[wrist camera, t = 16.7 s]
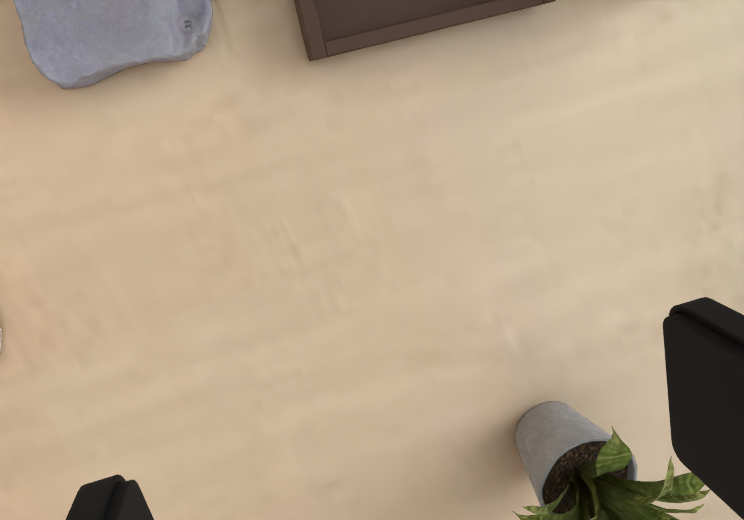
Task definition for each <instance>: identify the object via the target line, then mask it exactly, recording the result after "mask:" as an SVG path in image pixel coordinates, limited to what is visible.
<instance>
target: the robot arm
mask: <svg viewBox="0 0 744 520" xmlns="http://www.w3.org/2000/svg"><path fill="white" fill-rule="evenodd" d="M663 334H664V347H665V360H666V373H667V387H668V400H669V413H670V426H671V439H672V446H673V449H674V451H675V453H676V455H677V457H678V458H679V460H680V461H681V462H682V463H683V464H684V465H685V466H686V467H687V468H688V469H689V470H690V471H691V472H692V473H693V474H694V475H696V476H697V477H698V478H699V479H700V480H701V481H702V482H703V483H704V484H705V485H706V486H707V487H709V488H710V489H711V490H712V491H713V492H714V493H715V494H716V495H717V496H718V497H719V498H720V499H722V500H723V501H724V502H725V503H726V504H727V505H728V506H729V507H730V508H731V509H732V510H733V511H735V512H736V513H737V514H738V515H739V516H740V517H741V518H742V519H743V520H744V315H742V314H740V313H738V312H736V311H734V310H732V309H730V308H728V307H726V306H724V305H722V304H720V303H718V302H716V301H714V300H712V299H710V298H707V297H704V298H699V299H696V300H693V301H689V302H686V303H683V304H680V305H676V306H674V307H673V308H671V310H670V313H669V316H668V317H666V318H665V319H664V322H663ZM1 338H2V331H1V326H0V352H1ZM66 520H154V519H153V517H152V514H151V512H150V510H149V508H148V505H147V503H146V501H145V499H144V496H143V494H142V492H141V490H140V487H139V485H138V484H137V482H136V481H135V480H129V481H125V479H124V478H123V477H122V476H121V475H115V476H111V477H108V478H105V479H101V480H98V481H95V482H92V483H88V484H85V485H83V486H81V487H80V489H79V491H78V493H77V495H76V497H75V500H74V502H73V504H72V506H71V509H70V511H69V513H68V515H67V518H66Z"/></svg>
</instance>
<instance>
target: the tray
mask: <svg viewBox="0 0 744 520" xmlns="http://www.w3.org/2000/svg"><path fill="white" fill-rule="evenodd" d="M553 1H556V0H294V3H295V7H296V11H297V15H298V19H299V23H300V27H301V31H302V35H303V39H304V42H305V46H306V50H307V54H308V58H309V61H313V60H317V59H322V58H326V57H330V56H334V55H338V54H342V53H346V52H350V51H354V50H358V49H362V48H366V47H370V46H375V45H379V44H383V43H387V42H391V41H395V40H399V39H403V38H407V37H411V36H415V35H419V34H423V33H427V32H432V31H436V30H440V29H444V28H448V27H452V26H456V25H460V24H464V23H468V22H472V21H476V20H480V19H485V18H489V17H493V16H497V15H501V14H505V13H509V12H513V11H517V10H521V9H525V8H529V7H533V6H537V5H541V4H545V3H549V2H553Z"/></svg>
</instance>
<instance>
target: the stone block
mask: <svg viewBox="0 0 744 520" xmlns="http://www.w3.org/2000/svg"><path fill="white" fill-rule="evenodd" d="M14 3H15V7H16V11H17V13H18V16H19V18H20V20H21V24H22V29H23V34H24V40H25V45H26V47H27V49H28V52H29V55H30V57H31V60H32V62H33V64H34V65H35V67H36V68H37V69H38V70H39V72H40V73H41V74H42V75H43V76H44V77H46V78H47V79H49V80H50V81H52V82H54V83H56V84H57V85H58V86H60V87H61V88H63V89H69V88H78V87H88V86H90V85H93V84H95V83H97V82H99V81H101V80H102V79H104V78H106V77H109V76H111V75H113V74H114V73H117V72H120V71H122V70H124V69H126V68H128V67H131V66H137V65H140V64H144V63H147V62H169V61H184V60H187V59H189V58H191V57H192V56H193V55H194V54H196V53H198V52H200V51H201V50H202V49H203V48H204V47H205V45H206V43H207V42H208V36H209V33H210V30H211V25H212V14H213V11H212V5H211V1H210V0H14Z"/></svg>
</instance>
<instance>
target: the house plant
mask: <svg viewBox="0 0 744 520" xmlns="http://www.w3.org/2000/svg"><path fill="white" fill-rule="evenodd" d="M612 430H613V434H612V436H611V435H609V434H608V433H606V432H605V431H603V430H602V429H601V428H599V427H598V426H596V425H595V424H593V423H592V422H590V421H589V420H588V419H586V418H585V417H583V416H582V415H580V414H579V413H578V412H576V411H575V410H573V409H572V408H570V407H569V406H567V405H566V404H563V403H560V402H546V403H542V404H539V405H537V406H535V407H533V408H532V409H531V410H529V411H528V412H527V413H526V414H525V415H524V416H523V417H522V418H521V420H520V422H519V424H518V426H517V428H516V433H515V443H516V445H517V448H518V450H519V453H520V455H521V458H522V460H523V463H524V465H525V468H526V470H527V473H528V475H529V478H530V480H531V483H532V485H533V488H534V491H535V493H536V496H537V498H538V501H539V503H540V506H541V507H539V506H527V507H523V506H522V507H523V508H525V509H527V510H529V511H531V512H533V513H535V514H538V515H530V516H524V515H518V514H516V513H515V512H514V513H515V514H516V515H517V516H518V517H519V518H520V519H521V520H678V519H676V518H674V517H673V516H671V515H669V514H667V513H696V512H697V511H698V510H699V509H701V507H702V506H703V505H704V504H703V505H701V506H697V507H695V508H693V509H691V510H678V509H665V508H662V507H658V506H656V505H653V504H651V503H652V502H654V501H655V500H656V501H662V502H669V503H683V502H690V501H696V500H699V499H702V498H703V497H705V496H706V494H707V493H708V492H709V491H710V489H709V490H706V491H699V490H700V489H701V488H702V487H703V486H704V485H705V484H704V483H703V482H702V481H701V480H700V479H699V478H698V477H697V476H696V475H694V474H693V473H692V472H690V473H686V474H682V475H679V476H676V477H674V466H673V464H672V461H671V458H670V461H669V466H668V471H667V475H666V478H665V480H661V481H657V482H641V481H636V480H637V465H636V461H635V458H634V455H633V454H632V452H631V451H630V449H629V447H627V446H626V445H625V444H624V443H623V442H622V440H621V439H620V438H619V436H618V435H617V434H616V432H615V430H614V429H613V427H612ZM671 457H672V456H671ZM665 512H666V513H665Z"/></svg>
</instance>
